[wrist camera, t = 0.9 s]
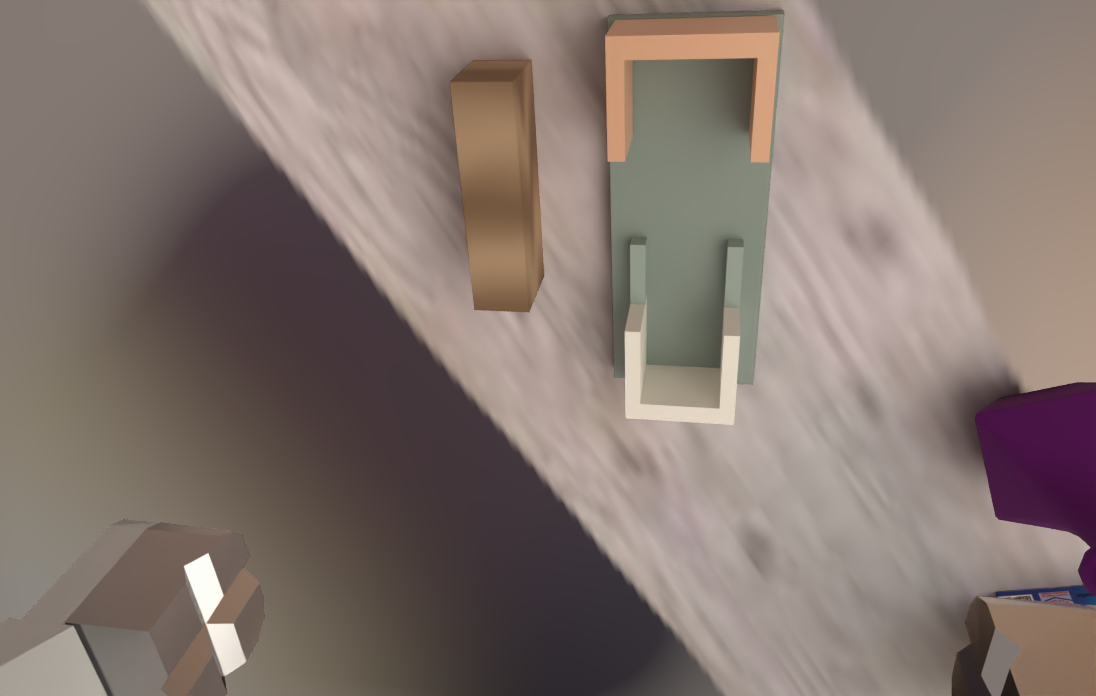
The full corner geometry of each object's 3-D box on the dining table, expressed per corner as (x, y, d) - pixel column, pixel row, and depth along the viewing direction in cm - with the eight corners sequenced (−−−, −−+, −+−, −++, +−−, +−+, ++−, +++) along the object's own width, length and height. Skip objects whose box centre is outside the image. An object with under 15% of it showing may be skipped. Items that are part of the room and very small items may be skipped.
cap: (614, 19, 39) (605, 36, 36) (775, 15, 37) (779, 32, 34) (616, 137, 41) (607, 161, 38) (766, 136, 40) (768, 162, 37)
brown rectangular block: (474, 59, 42) (449, 81, 39) (532, 58, 42) (512, 81, 38) (494, 272, 49) (474, 309, 45) (544, 274, 48) (529, 312, 44)
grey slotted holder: (609, 15, 40) (595, 36, 36) (783, 10, 38) (789, 32, 34) (615, 368, 50) (605, 416, 46) (752, 374, 49) (754, 426, 44)
